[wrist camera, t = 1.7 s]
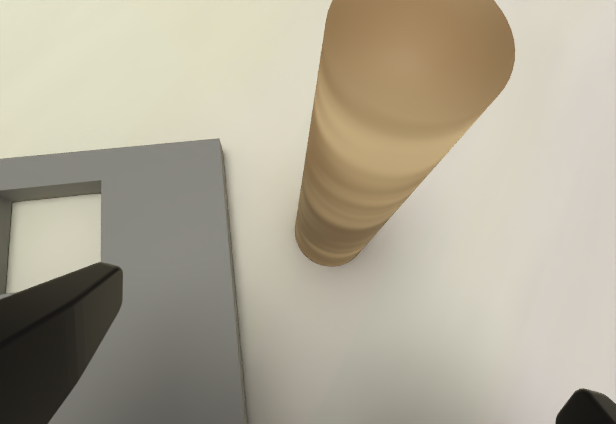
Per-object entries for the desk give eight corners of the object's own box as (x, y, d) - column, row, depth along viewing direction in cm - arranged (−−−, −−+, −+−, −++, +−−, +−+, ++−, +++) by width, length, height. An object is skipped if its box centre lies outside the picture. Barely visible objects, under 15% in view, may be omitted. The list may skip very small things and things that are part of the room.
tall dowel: (371, 261, 21) (539, 111, 7) (300, 270, 20) (342, 129, 7) (358, 194, 22) (485, -43, 8) (290, 201, 21) (312, -34, 8)
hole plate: (254, 498, 17) (252, 512, 16) (-116, 568, 16) (-155, 590, 14) (222, 151, 22) (219, 138, 21) (-64, 179, 20) (-90, 167, 19)
